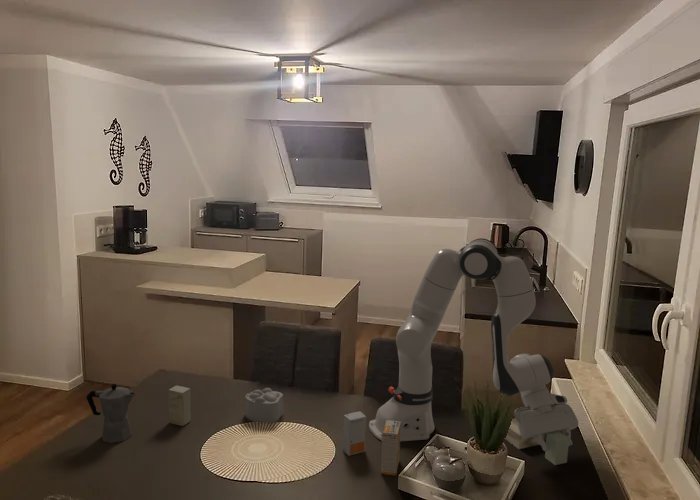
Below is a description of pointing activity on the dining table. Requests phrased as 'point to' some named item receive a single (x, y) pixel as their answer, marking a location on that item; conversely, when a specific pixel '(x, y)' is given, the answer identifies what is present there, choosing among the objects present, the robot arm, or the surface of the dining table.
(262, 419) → the lumpy-topped squat cylinder
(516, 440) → the ash block
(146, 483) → the dining table surface
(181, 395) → the skincare box
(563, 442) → the sage block
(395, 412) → the robot arm
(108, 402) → the coffeepot
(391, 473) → the supplement box
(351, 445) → the skincare box
